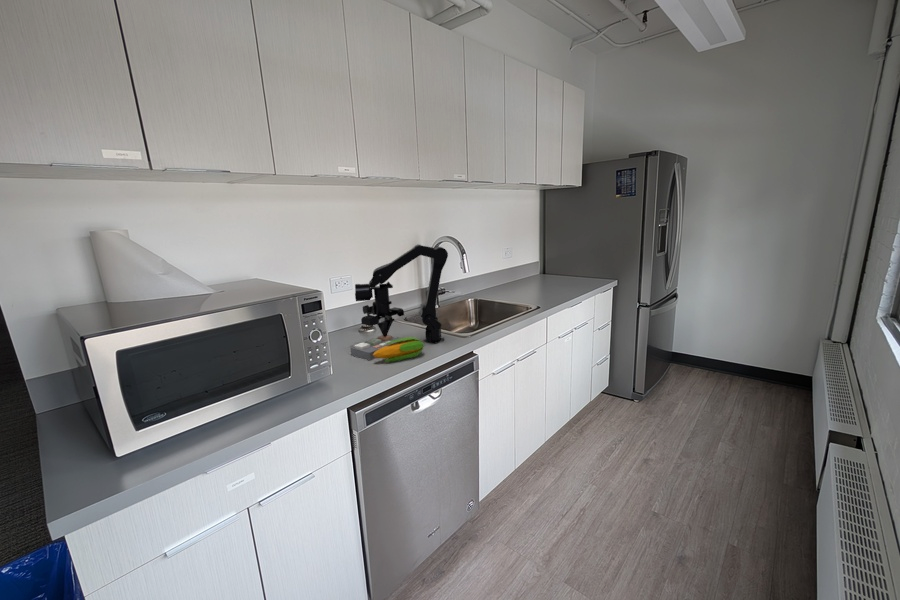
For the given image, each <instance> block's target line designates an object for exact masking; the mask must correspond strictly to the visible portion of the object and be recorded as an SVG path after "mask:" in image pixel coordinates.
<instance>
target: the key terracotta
mask: <svg viewBox="0 0 900 600" xmlns="http://www.w3.org/2000/svg"><path fill="white" fill-rule="evenodd" d="M392 337H393V335H392V334H391V335H390V334H387V336H386V337H384V336H383V334H381V335H378V336H377V338H378V339H380V340H382V341H386V340H389V339H392Z"/></svg>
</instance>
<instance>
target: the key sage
mask: <svg viewBox="0 0 900 600" xmlns="http://www.w3.org/2000/svg"><path fill="white" fill-rule="evenodd" d="M376 338H377V337H373V338H371V339H367V340H366V341H365V342H366V343H368V344H370V345H376V344H379V343H381V342H382V341H381V340H380V339H376Z"/></svg>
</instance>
